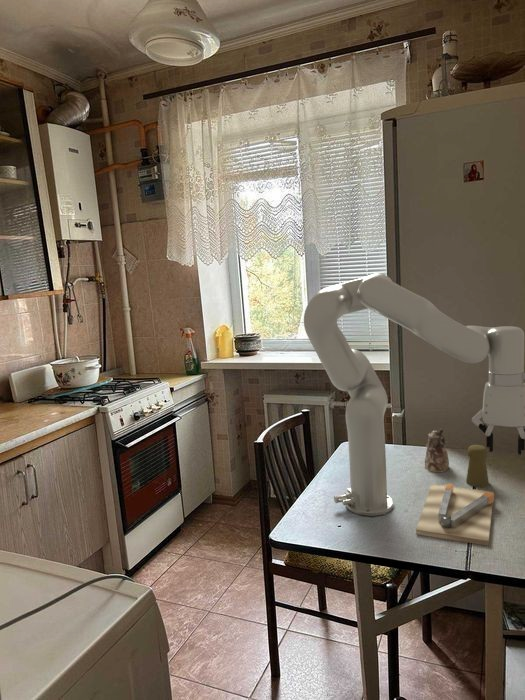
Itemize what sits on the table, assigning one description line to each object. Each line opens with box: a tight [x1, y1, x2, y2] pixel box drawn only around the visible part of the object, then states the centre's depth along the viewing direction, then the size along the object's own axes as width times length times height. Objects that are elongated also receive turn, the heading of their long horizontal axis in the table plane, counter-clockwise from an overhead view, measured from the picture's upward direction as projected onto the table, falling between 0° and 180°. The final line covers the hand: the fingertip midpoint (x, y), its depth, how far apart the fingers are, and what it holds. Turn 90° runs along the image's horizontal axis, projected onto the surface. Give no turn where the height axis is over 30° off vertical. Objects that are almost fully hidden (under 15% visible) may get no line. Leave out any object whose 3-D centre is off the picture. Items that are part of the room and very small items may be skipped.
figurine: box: [424, 428, 450, 473], centre depth 162 cm, size 7×7×12 cm
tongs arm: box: [441, 492, 495, 528], centre depth 131 cm, size 20×3×2 cm, turn 129°
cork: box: [465, 444, 489, 488], centre depth 149 cm, size 6×6×11 cm
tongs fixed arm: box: [438, 483, 454, 522], centre depth 135 cm, size 18×2×2 cm, turn 154°
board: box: [415, 483, 494, 547], centre depth 134 cm, size 26×16×1 cm, turn 154°
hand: (505, 450), depth 127 cm, fingers open, 5 cm apart
